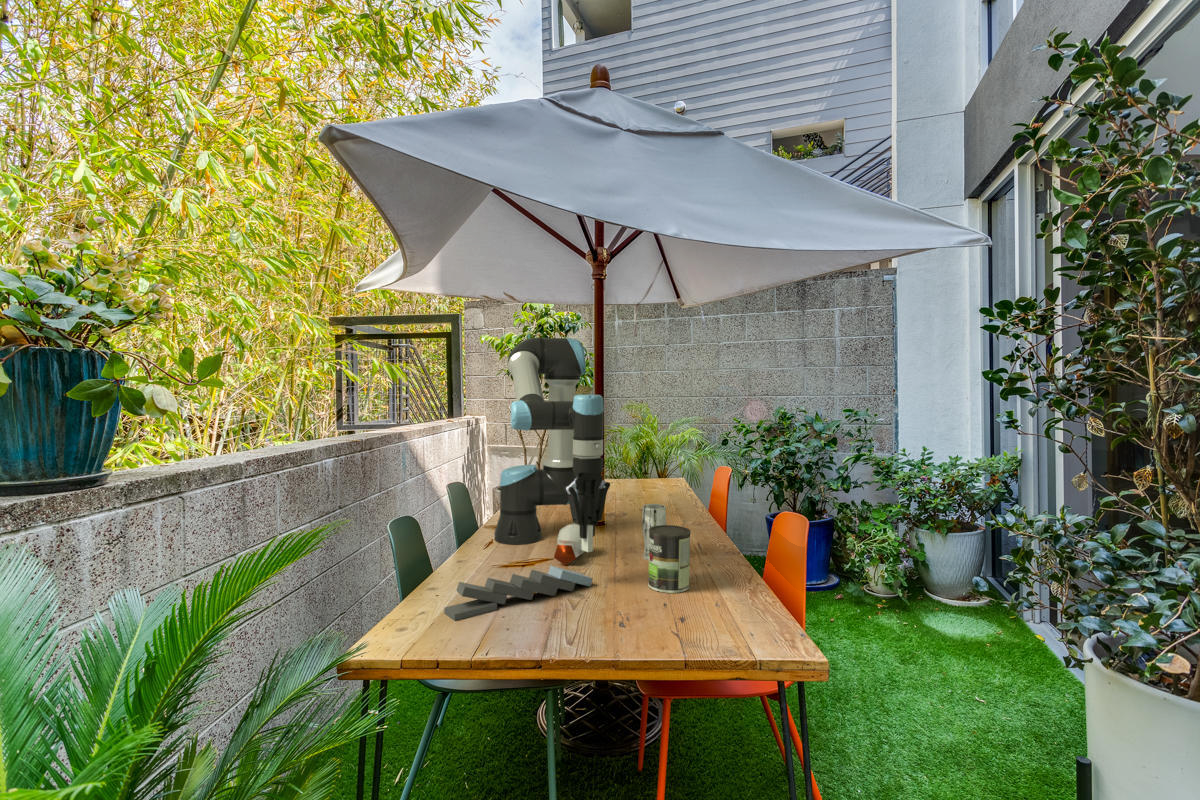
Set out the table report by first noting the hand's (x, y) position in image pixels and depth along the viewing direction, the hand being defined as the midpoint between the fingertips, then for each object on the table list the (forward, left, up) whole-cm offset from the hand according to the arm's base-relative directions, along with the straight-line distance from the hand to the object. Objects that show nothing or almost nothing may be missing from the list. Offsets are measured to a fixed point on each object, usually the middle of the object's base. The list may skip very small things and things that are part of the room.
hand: (587, 550), depth 148 cm
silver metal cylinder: (-6, +29, -9) cm, 31 cm away
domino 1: (-1, -23, -7) cm, 25 cm away
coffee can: (+14, +15, -9) cm, 22 cm away
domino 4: (0, -11, -7) cm, 13 cm away
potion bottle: (-19, +9, -9) cm, 23 cm away
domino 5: (0, -6, -7) cm, 10 cm away
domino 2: (0, -26, -8) cm, 28 cm away
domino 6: (0, -1, -7) cm, 7 cm away
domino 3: (0, -17, -7) cm, 18 cm away
